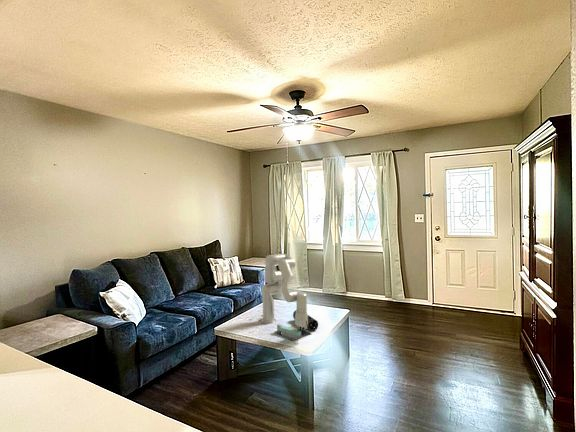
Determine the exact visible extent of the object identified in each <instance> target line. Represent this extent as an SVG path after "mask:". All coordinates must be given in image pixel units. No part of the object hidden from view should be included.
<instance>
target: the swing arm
mask: <svg viewBox="0 0 576 432" xmlns="http://www.w3.org/2000/svg"><path fill="white" fill-rule="evenodd" d="M276 326H277V327H276V331H277V332H278V333H281V332H282V331H283V332H286V333H290V334H293V335H297V336H301V331H299V330H296V329H292V328H288V327H289V326H284V325H282V324H280V323H279V324H277V325H276Z"/></svg>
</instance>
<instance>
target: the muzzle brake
mask: <svg viewBox="0 0 576 432" xmlns="http://www.w3.org/2000/svg"><path fill="white" fill-rule="evenodd" d="M296 311H297V309H296V310H294V311H293V313H292V317H293V320H295V314H296ZM307 315H308V326H307V330H309V331H310V332H316V330H317V329H318V327H319V321H318V320H316V318H313V317H312V316H310V315H309V314H307Z"/></svg>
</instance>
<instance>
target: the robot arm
mask: <svg viewBox="0 0 576 432" xmlns="http://www.w3.org/2000/svg"><path fill="white" fill-rule="evenodd" d="M264 264H265V268H264V282H265V283H266V284H263V285H262V286H261V297H262V314H261V315H260V316H261V320H260V323H262V324H265V325H267V324H268V325H269V324H274V323H276V322H277V318H275V300H274V297H273V296H274V295H278V294H280V293H281V294H282V296H283V299H284V300H285V302H287V303H294V302H296V307H295V308H296V310H297V311H296V314H295V319H294V324H295V326H296V327H297V328H299V331H301V336H302V335H304V331H306V329H307V326H308V315H309V314H308V309H307V308H308V306H307V305H308V303H307V302H308V296H307V293H305V292H302V291H301V290H299V289H296V290H291V291H290V290H289V288H288V285H289V282H290V281H292V280H293V279H294V273H293V269H295V267H296V261H295V259H294V258H292V257H291V256H289V255H288V254H286V253H274V254H269V255H266V257H265V260H264ZM276 265H277V266H278V269H279V270H276V269H277V268H276V267H277V266H276ZM307 330H308V329H307Z"/></svg>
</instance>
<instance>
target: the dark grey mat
mask: <svg viewBox="0 0 576 432" xmlns="http://www.w3.org/2000/svg"><path fill="white" fill-rule="evenodd" d="M287 327H288V328H292V329H296V330H299V327H298V326H296V325H291V326H287ZM273 333H274V334H276V335H278V336H281V337H282V338H284V339H286V340H288V341H290V342H294V341H297V340H300V339H303V338H306V337H307V336H311V335H312V333H311V332H308V331H306V330H304V335H302V336H297V335H293V334H290V333H286V332H283V331H282V332H281V333H278V332H277V330H275V331H273Z"/></svg>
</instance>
